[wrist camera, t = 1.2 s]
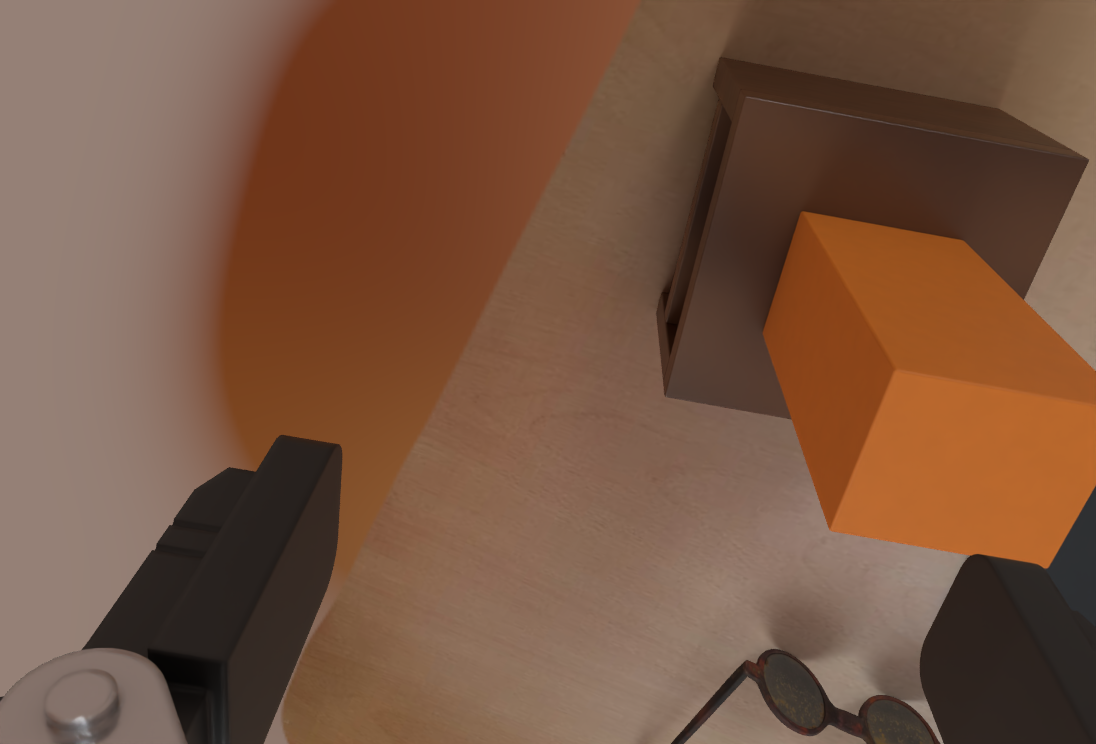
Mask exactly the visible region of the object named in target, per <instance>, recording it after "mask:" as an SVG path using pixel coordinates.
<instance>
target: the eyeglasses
mask: <svg viewBox="0 0 1096 744" xmlns="http://www.w3.org/2000/svg"><path fill="white" fill-rule="evenodd" d="M747 676H748V677H749V678H751V679H752V680H754V681H755V682H756V683H757V684H758V687H759V689H760V691H761V694H762V696H763V698H764V700H765V702H766V704H767V705H768V707H769V708H770V710H771V711H772V712H773V714H774V715H775V716H776V717H777V718H778V719H779V720H780V721H781V722H782V723H783V724H784V725H785V726H787V727H788V728H790V729H791V730H793V731H795V732H797V733H799V734H802V735H806V736H814V735H817V734H819V733H820V732H821V731H822V730H823V729H824V728H825V727H826V726H827V725H832V726H834V727H836V728H838V729H840V730H842V731H844V732H847V733H849V734H851V735H854V736H857V737H860V738H862V739H863V740H864V741H865V742H866V743H867V744H940V743H939V741H938V739H937V738H936V736H935V734H934V732H933V731H932V729H931V728H930V726H929V725H928V723H927V722H926V721H925V720H924V719H923V717H922V716H921V715H920V714H919V713H918V712H917V711H916V710H914V709H913V708H912V707H911V706H909V705H908V704H906V703H905V702H903V701H901V700H899V699H896V698H893V697H890V696H886V695H876V696H873V697H871V698H869V699H868V700H867V701H866V702H865V703H864V704H863V705H862V706H861V708H860V710H859V715H858V716H856V715H854V714H851V713H849V712H847V711H844V710H841V709H838V708H836V707H835V706H834V705H833V704H832V703H831V702H830V700H829V699H828V697H827V695H826V693H825V691H824V689H823V688H822V686H821V684H820V683H819V681H818V680H817V678H816V677H815V676H814V674H813V673H812V672H811V671H810V670H809V668H808V667H807V666H806V665H804V664H803V663H802V662H801V661H800V660H798V659H797V658H796V657H794V656H792V655H791V654H789V653H787V652H784V651H782V650H778V649H770V650H767V651H765V652H764V653H762V654H761V655H760V657H759V658H758V661H757V664H755V663H753V662H751V661H748V660H746V661H745V662H744V663H743V664H742V665H741V666H740V667H738V668H737V670H736V671H735V672H734V673H733V674H732V675H731V676H730V677H729V678H728V679H727V681H726V682H725V683H724V684H723V685H722V686H721V687H720V688H719V690H718V691H717V692H716V693H715V694H714V695H713V696H712V698H711V699H710V700H709V701H708V702H707V703H706V704H705V706H704V707H703V708H702V709H701V710H700V711H699V712H698V714H697V715H696V716H695V717H694V718H693V719H692V720H691V722H690V723H689V724H688V725H687V726H686V727H685V728H684V730H683V731H682V732H681V733H680V734H679V735H678V736H677V737H676V738H675V740H674V741H673V742H672V743H671V744H684V743H685V742H686V741H687V740H688V739H689V738H690V737H691V736H692V735H693V734H694V733H695V732H696V731H697V730H698V729H699V728H700V727H701V725H702V724H703V723H704V722H705V721H706V720H707V719H708V718H709V717H710V716H711V715H712V714H713V713H714V712H715V711H716V710H717V708H718V707H719V706H720V705H721V704H722V703H723V702H724V701H725V700H726V699H727V698H728V697H729V696H730V695H731V694H732V692H733V691H734V690H735V689H736V688H737V687H738V686H739V685H740V684H741V683H742V682H743V681H744V680H745V679H746V677H747Z"/></svg>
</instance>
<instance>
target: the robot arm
mask: <svg viewBox="0 0 1096 744" xmlns="http://www.w3.org/2000/svg"><path fill="white" fill-rule="evenodd" d="M341 471H342V448H341V446H340V445H339V444H333V443H327V442H321V441H316V440H309V439H303V438H297V437H291V436H286V435H280V436H279V437H278V438H277V439H276V440H275V442H274V444H273V445H272V447H271V448H270V450H269V452H268V453H267V455H266V456H265V458H264V460H263V461H262V463H261V465H260V466H259V468H258V470H257V471H256V472H254V471H248V470H242V469H236V468H230V467H229V468H227V469H226V470H224V471H223V472H221V473H220V474H218V475H216V476H215V477H214V478H212V479H210V480H209V481H207V482H206V483H204V484H203V485H201V486H199V487H198V488H197V489H195V490H194V491H193V493H192V494H191V495H190V497H189V498H188V500H187V501H186V503H185V504H184V505H183V507H182V508H181V510H180V511H179V513H178V514H177V515H176V517H175V518H174V522H173V525H169V527H168V528H167V530H166V531H165V533H164V534H163V536H162V537H161V538H160V540H159V541H158V543H157V546H156V549H155V551H154V550H152V551H151V553H150V554H149V555H148V557H147V558H146V560H145V561H144V563H143V564H142V565H141V567H140V568H139V570H138V571H137V573H136V574H135V575H134V577H133V578H132V580H131V581H130V583H129V584H128V585H127V587H126V588H125V590H124V591H123V592H122V594H121V595H120V597H119V598H118V600H117V601H116V603H115V604H114V605H113V607H112V608H111V610H110V611H109V612H108V614H107V615H106V617H105V618H104V620H103V621H102V623H101V624H100V625H99V627H98V628H97V630H96V631H95V633H94V634H93V635H92V637H91V638H90V640H89V641H88V642H87V644H86V645H85V646H84V648H83V649H82V650H80V651H77V652H72V653H68V654H65V655H62V656H60V657H57V658H54V659H52V660H50V661H48V662H46V663H44V664H42V665H40V666H38V667H37V668H35V669H34V670H32V671H30V672H29V673H27V674H26V675H25V676H24V677H22V678H21V679H20V680H19V681H18V682H16V683H15V685H14V686H12V688H11V689H10V690H9V691H8V692H7V693H6V694H5V696H3V697H0V744H264V741H265V739H266V736H267V734H268V731H269V729H270V727H271V724H272V721H273V719H274V717H275V714H276V712H277V709H278V707H279V705H280V702H281V700H282V697H283V695H284V692H285V690H286V687H287V685H288V683H289V680H290V678H291V675H292V673H293V670H294V668H295V666H296V663H297V661H298V658H299V656H300V653H301V651H302V648H303V646H304V644H305V641H306V639H307V636H308V634H309V631H310V629H311V627H312V624H313V621H314V619H315V617H316V614H317V612H318V609H319V607H320V605H321V602H322V599H323V597H324V595H325V592H326V590H327V587H328V584H329V581H330V577H331V574H332V570H333V566H334V561H335V556H336V550H337V542H338V527H339V525H338V524H339V509H340V489H341ZM920 677H921V683H922V688H923V691H924V694H925V696H926V699H927V701H928V704H929V706H930V709H931V711H932V714H933V717H934V719H935V722H936V724H937V727H938V729H939V732H940V734H941V737H942V740H943V742H944V744H1096V627H1095V626H1094V625H1093V624H1091V623H1090V622H1089V621H1088V620H1087V619H1086V618H1085V617H1084V616H1083V615H1082V614H1080V613H1079V612H1078V611H1073V610H1071V609H1070V607H1069V605H1068V604H1067V602H1066V601H1065V599H1064V598H1063V596H1062V595H1061V593H1060V591H1059V590H1058V588H1057V587H1056V585H1055V584H1054V582H1053V580H1052V579H1051V577H1050V576H1049V574H1048V573H1047V572H1046V570H1045V569H1044V568H1043V567H1042V566H1040V565H1038V564H1035V563H1030V562H1024V561H1018V560H1012V559H1006V558H1000V557H994V556H988V555H982V554H974V555H972V556H970V557H969V558H968V559H967V560H966V561H965V562H964V563H963V565H962V567H961V569H960V570H959V572H958V574H957V576H956V578H955V580H954V582H953V584H952V586H951V588H950V590H949V592H948V594H947V596H946V598H945V600H944V602H943V604H942V606H941V608H940V610H939V612H938V614H937V616H936V618H935V620H934V622H933V624H932V626H931V628H930V630H929V632H928V634H927V636H926V638H925V641H924V643H923V647H922V651H921V657H920Z"/></svg>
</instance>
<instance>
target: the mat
mask: <svg viewBox="0 0 1096 744" xmlns="http://www.w3.org/2000/svg"><path fill="white" fill-rule="evenodd" d="M1044 569H1045V570H1046V572H1047V573H1048V574H1049V576H1050V577H1051V579H1052V580H1053V582H1054V584H1055V585H1056V587H1057V588H1058V590H1059V591H1060V593H1061V595H1062V596H1063V598H1064V599H1065V601H1066V602H1067V604H1068V605H1069V607H1070V609H1071V610H1073V611H1078V612H1079V613H1080V614H1082V615H1083V616H1084V617H1085V618H1086V619H1087V620H1088V621H1089V622H1090V623H1091V624H1093V625H1094V626H1095V627H1096V486H1095V488H1094V490H1093V491H1092V493H1091V495H1090V497H1089V498H1088V500H1087V502H1086V503H1085V505H1084V507H1083V509H1082V510H1081V512H1080V514H1079V516H1078V517H1077V519H1076V521H1075V523H1074V524H1073V526H1072V528H1071V529H1070V531H1069V533H1068V535H1067V536H1066V538H1065V540H1064V542H1063V543H1062V545H1061V547H1060V549H1059V550H1058V552H1057V554H1056V555H1055V557H1054V559H1053V561H1052V562H1051V564H1050V566H1049V567H1048V568H1044Z"/></svg>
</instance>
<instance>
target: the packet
mask: <svg viewBox="0 0 1096 744" xmlns="http://www.w3.org/2000/svg"><path fill="white" fill-rule="evenodd" d="M763 336H764V339H765V342H766V345H767V348H768V351H769V354H770V357H771V360H772V363H773V366H774V369H775V372H776V375H777V378H778V381H779V383H780V386H781V389H782V392H783V395H784V398H785V401H786V404H787V407H788V410H789V413H790V416H791V419H792V422H793V425H794V428H795V431H796V433H797V436H798V439H799V442H800V445H801V448H802V451H803V454H804V457H805V460H806V463H807V466H808V469H809V472H810V475H811V478H812V480H813V483H814V486H815V489H816V492H817V495H818V498H819V501H820V504H821V507H822V510H823V513H824V516H825V519H826V522H827V525H828V528H829V530H830V531H833V532H839V533H845V534H850V535H856V536H862V537H868V538H873V539H879V540H885V541H890V542H896V543H902V544H908V545H913V546H919V547H925V548H931V549H936V550H942V551H948V552H954V553H959V554H965V555H971V556H972V555H974V554H982V555H988V556H994V557H1000V558H1006V559H1012V560H1018V561H1024V562H1030V563H1035V564H1038V565H1040V566H1042V567H1043V568H1048V567H1049V566H1050V564H1051V562H1052V561H1053V559H1054V557H1055V555H1056V554H1057V552H1058V550H1059V549H1060V547H1061V545H1062V543H1063V542H1064V540H1065V538H1066V536H1067V535H1068V533H1069V531H1070V529H1071V528H1072V526H1073V524H1074V523H1075V521H1076V519H1077V517H1078V516H1079V514H1080V512H1081V510H1082V509H1083V507H1084V505H1085V503H1086V502H1087V500H1088V498H1089V497H1090V495H1091V493H1092V491H1093V490H1094V488H1095V486H1096V371H1095V370H1094V369H1093V368H1092V367H1091V366H1090V365H1089V364H1088V363H1087V362H1086V361H1085V360H1084V359H1083V358H1082V357H1081V356H1080V355H1079V354H1078V353H1077V352H1076V351H1075V350H1074V349H1073V348H1072V347H1071V346H1070V345H1069V344H1068V343H1067V342H1066V341H1064V340H1063V339H1062V338H1061V337H1060V336H1059V335H1058V334H1057V333H1056V332H1055V331H1054V330H1053V329H1052V328H1051V327H1050V326H1049V325H1048V324H1047V323H1046V322H1045V321H1044V320H1043V319H1042V318H1041V317H1040V316H1039V315H1038V314H1037V313H1036V312H1035V311H1034V310H1033V309H1032V308H1031V307H1030V306H1029V305H1028V304H1027V303H1026V302H1025V301H1024V300H1023V299H1022V298H1021V297H1020V296H1019V295H1018V294H1017V293H1016V292H1015V291H1014V290H1013V289H1012V288H1011V287H1010V286H1009V285H1008V284H1007V283H1006V282H1005V281H1004V280H1003V279H1002V278H1001V277H1000V276H999V275H998V274H997V273H996V272H995V271H994V270H993V269H992V268H991V267H990V266H989V265H988V264H987V263H986V262H985V261H984V260H983V259H982V258H981V257H980V256H979V255H978V254H977V253H976V252H975V251H974V250H973V249H972V248H971V247H970V246H969V245H968V244H967V243H966V242H965V241H963V240H958V239H953V238H948V237H942V236H937V235H931V234H926V233H920V232H915V231H909V230H904V229H898V228H893V227H887V226H882V225H876V224H871V223H865V222H860V221H854V220H849V219H843V218H838V217H832V216H827V215H821V214H816V213H810V212H805V211H802V212H801V213H800V216H799V219H798V222H797V226H796V229H795V232H794V235H793V238H792V241H791V245H790V248H789V251H788V254H787V257H786V260H785V263H784V267H783V270H782V273H781V276H780V279H779V282H778V286H777V289H776V292H775V295H774V298H773V301H772V304H771V308H770V311H769V314H768V317H767V320H766V323H765V327H764V330H763Z"/></svg>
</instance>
